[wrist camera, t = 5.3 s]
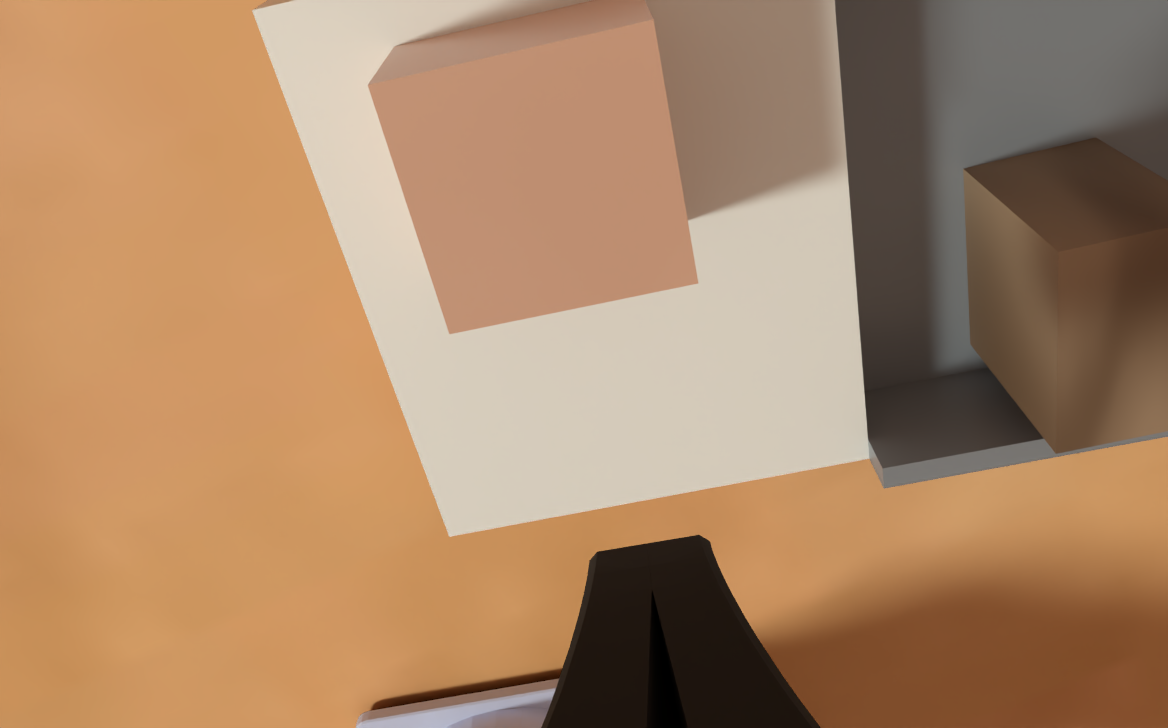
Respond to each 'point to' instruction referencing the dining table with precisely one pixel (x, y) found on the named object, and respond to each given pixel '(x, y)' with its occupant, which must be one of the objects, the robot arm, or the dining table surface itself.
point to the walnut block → (1072, 290)
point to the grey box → (936, 191)
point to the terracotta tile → (538, 162)
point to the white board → (627, 326)
